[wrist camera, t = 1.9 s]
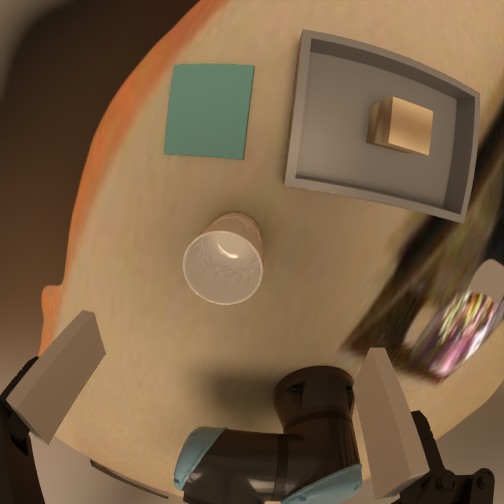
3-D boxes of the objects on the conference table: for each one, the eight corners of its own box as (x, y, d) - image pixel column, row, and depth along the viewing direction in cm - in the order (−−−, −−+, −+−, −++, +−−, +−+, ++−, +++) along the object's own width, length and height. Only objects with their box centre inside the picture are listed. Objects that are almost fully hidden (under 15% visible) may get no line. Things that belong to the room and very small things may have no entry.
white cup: (215, 198, 34) (193, 219, 25) (274, 219, 34) (275, 247, 25) (198, 254, 37) (175, 289, 28) (254, 273, 37) (247, 315, 28)
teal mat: (243, 159, 32) (242, 159, 31) (165, 154, 32) (163, 154, 32) (254, 67, 27) (254, 65, 27) (175, 65, 28) (174, 64, 27)
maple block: (401, 152, 29) (428, 155, 23) (366, 143, 29) (388, 142, 23) (405, 115, 27) (433, 111, 21) (370, 105, 28) (393, 96, 21)
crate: (444, 213, 32) (463, 223, 27) (282, 180, 33) (284, 186, 28) (459, 96, 25) (479, 93, 20) (298, 44, 26) (302, 29, 21)
